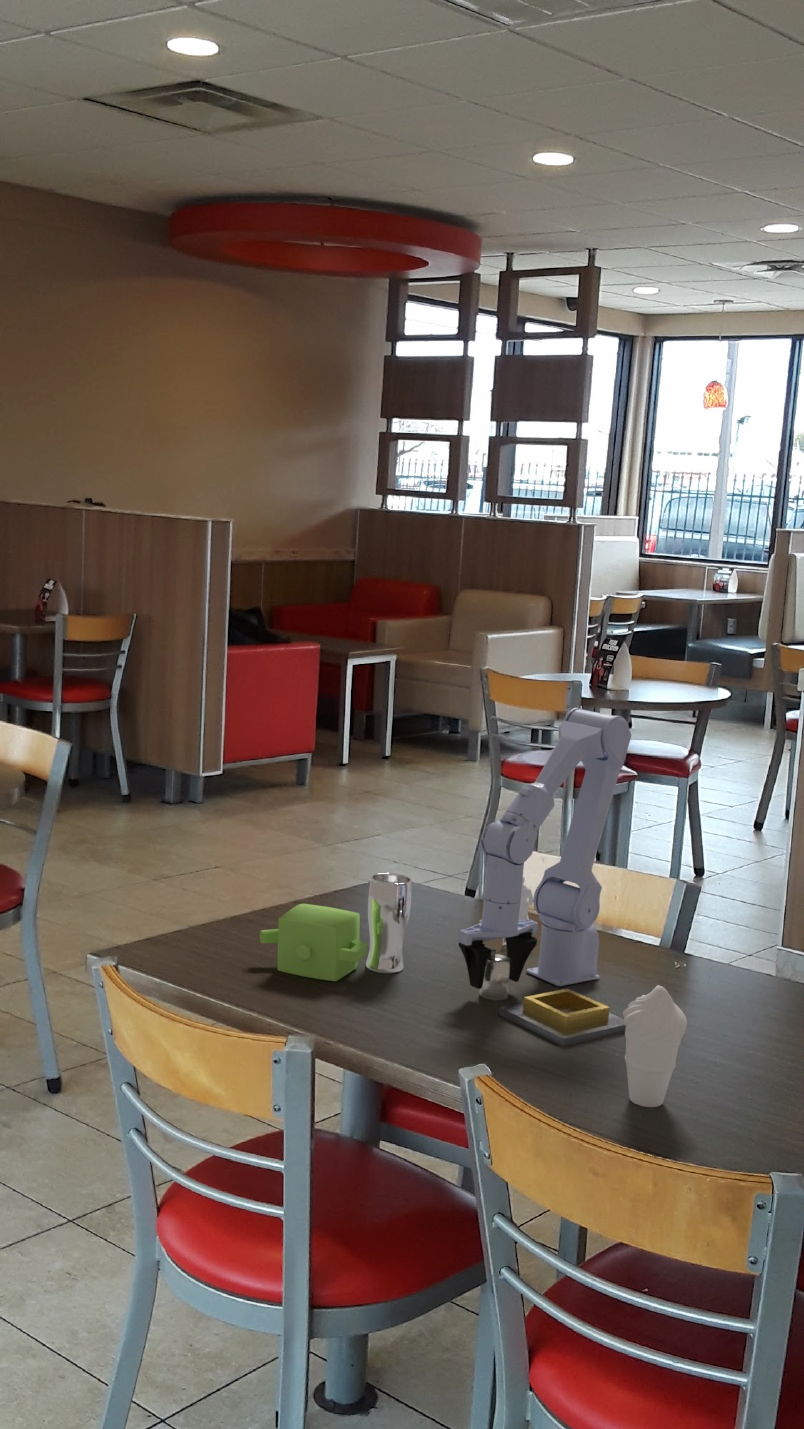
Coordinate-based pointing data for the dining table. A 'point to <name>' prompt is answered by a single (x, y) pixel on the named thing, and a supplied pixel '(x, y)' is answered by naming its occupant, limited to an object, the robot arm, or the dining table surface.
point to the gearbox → (317, 942)
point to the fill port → (564, 1017)
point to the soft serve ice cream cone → (652, 1045)
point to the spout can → (496, 977)
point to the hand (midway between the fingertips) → (494, 983)
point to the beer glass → (388, 921)
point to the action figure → (524, 903)
